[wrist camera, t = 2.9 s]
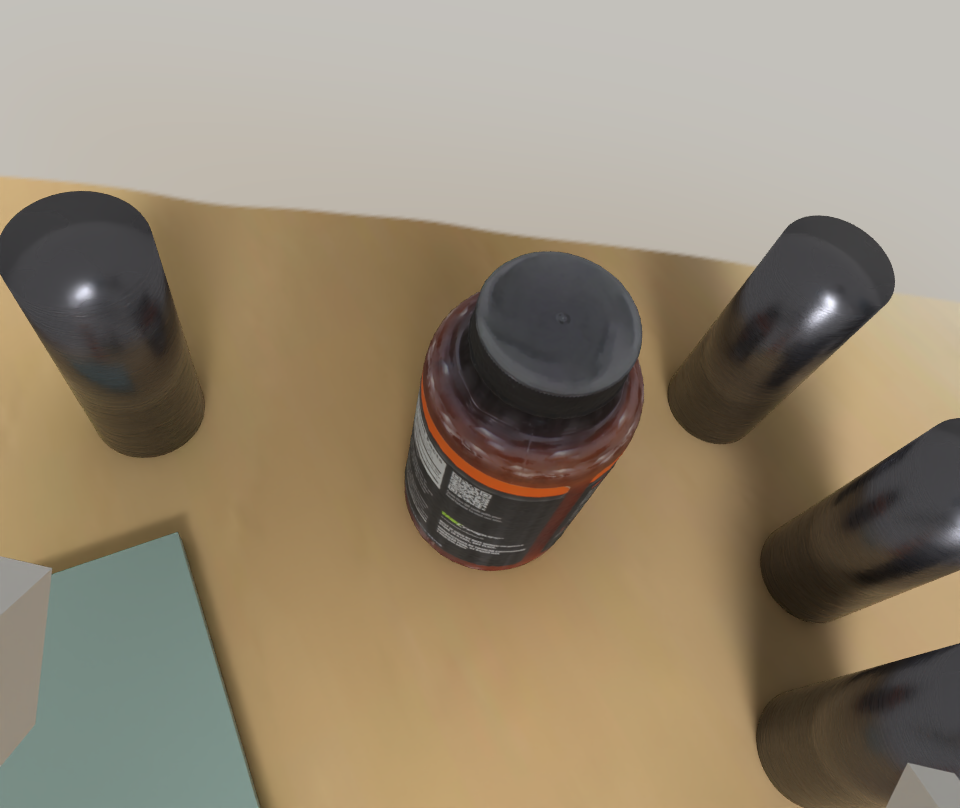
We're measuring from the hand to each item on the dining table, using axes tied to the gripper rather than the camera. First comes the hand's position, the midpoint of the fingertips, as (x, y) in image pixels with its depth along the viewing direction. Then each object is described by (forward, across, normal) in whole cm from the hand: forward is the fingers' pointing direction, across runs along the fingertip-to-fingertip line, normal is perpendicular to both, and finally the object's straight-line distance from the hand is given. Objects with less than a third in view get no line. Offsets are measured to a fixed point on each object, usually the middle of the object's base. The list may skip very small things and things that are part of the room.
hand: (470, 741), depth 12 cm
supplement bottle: (+16, +1, -3) cm, 17 cm away
